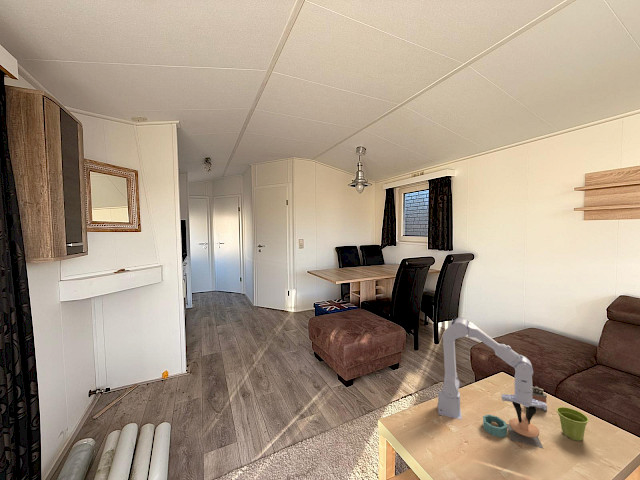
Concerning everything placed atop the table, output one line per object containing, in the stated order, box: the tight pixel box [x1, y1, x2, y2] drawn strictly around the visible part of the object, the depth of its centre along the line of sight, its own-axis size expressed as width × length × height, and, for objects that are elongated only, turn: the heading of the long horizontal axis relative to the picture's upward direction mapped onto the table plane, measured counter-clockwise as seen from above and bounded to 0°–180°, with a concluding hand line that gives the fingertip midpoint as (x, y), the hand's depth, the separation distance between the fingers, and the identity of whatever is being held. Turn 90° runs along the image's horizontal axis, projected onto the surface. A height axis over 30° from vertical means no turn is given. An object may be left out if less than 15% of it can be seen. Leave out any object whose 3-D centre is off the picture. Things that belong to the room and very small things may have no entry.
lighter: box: [532, 385, 548, 413], centre depth 123 cm, size 8×3×10 cm, turn 58°
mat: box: [506, 423, 545, 449], centre depth 106 cm, size 10×10×1 cm
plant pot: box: [556, 406, 590, 442], centre depth 106 cm, size 9×9×9 cm
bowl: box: [482, 414, 508, 438], centre depth 109 cm, size 8×8×4 cm
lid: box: [508, 412, 540, 438], centre depth 106 cm, size 10×10×5 cm
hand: (523, 422), depth 106 cm, fingers closed on lid
